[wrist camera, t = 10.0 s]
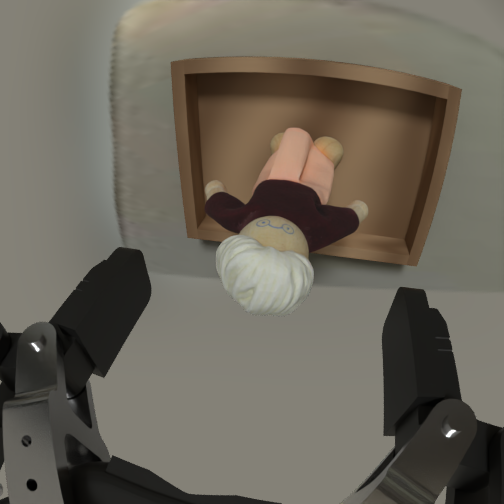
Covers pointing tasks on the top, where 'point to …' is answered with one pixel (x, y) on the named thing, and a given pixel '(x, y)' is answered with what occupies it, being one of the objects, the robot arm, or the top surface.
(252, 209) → the grandmother figurine
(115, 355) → the robot arm
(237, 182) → the walnut tray
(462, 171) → the top surface
